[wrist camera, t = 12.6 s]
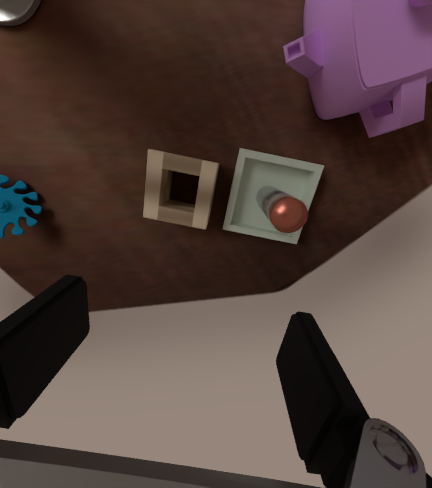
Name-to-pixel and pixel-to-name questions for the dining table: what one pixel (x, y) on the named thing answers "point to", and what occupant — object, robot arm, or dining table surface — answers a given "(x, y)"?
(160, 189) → the socket block
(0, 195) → the gear
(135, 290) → the dining table surface
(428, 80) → the teakettle
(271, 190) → the metal peg
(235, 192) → the tray
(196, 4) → the dining table surface
